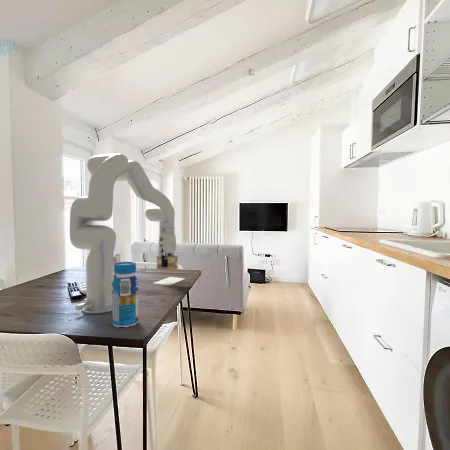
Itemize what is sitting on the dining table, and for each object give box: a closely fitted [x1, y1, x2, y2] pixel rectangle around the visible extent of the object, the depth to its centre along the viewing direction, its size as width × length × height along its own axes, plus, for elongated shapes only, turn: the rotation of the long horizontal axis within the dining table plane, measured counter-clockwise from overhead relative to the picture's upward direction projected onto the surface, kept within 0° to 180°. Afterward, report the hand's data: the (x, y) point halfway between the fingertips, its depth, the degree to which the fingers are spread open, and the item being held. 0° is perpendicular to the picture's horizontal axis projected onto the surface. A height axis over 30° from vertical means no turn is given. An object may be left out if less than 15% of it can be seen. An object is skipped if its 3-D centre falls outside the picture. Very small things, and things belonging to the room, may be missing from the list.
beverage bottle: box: [111, 261, 140, 328], centre depth 96 cm, size 8×8×20 cm
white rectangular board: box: [152, 276, 186, 286], centre depth 156 cm, size 16×10×1 cm, turn 158°
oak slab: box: [156, 254, 179, 271], centre depth 151 cm, size 4×10×7 cm, turn 68°
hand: (167, 265), depth 151 cm, fingers closed on oak slab, 4 cm apart
